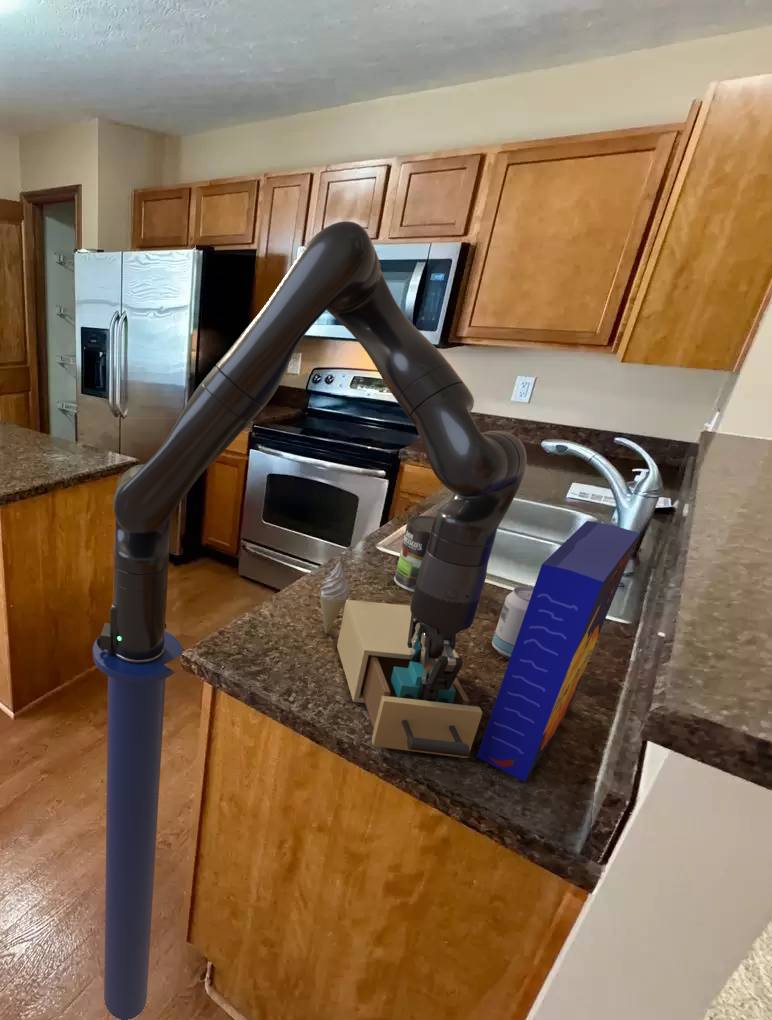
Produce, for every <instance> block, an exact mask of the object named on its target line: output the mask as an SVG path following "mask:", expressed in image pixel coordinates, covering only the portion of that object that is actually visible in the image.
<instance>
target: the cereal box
mask: <svg viewBox="0 0 772 1020" xmlns="http://www.w3.org/2000/svg"><path fill="white" fill-rule="evenodd" d="M640 535H641V533H640V532H637V531H633V530H631V529H628V528H624V527H620V526H617V525H614V524H609V523H604V522H596V521H591V520H586V521H585V522H583V524H582V525H580V527H579V528H578V529H576V530H575V532H573V533H572V534H571V535H570V537H568V538H567V539H566V540H565V541H564V542H563V543H562V544H561V545H560V546H559V547H558V548H557V549H556V550H555V551H554V552H553V553H552V554H551V555H550V556H549V557H547V559H545V560H544V561H543V562H542V563H541V566H540V569H539V571H538V574H537V577H536V581H535V584H534V587H533V588H534V589H533V592H532V595H531V598H530V601H529V604H528V607H527V610H526V613H525V616H524V619H523V622H522V625H521V628H520V630H519V633H518V636H517V639H516V642H515V645H514V648H513V651H512V654H511V657H510V659H508V662H507V666H506V669H505V672H504V675H503V678H502V681H501V683H500V686H499V690H498V693H497V696H496V698H495V701H494V704H493V707H492V710H491V713H490V716H489V719H488V721H487V725H486V728H485V731H484V735H483V737H482V740H481V743H480V746H479V749H478V752H477V755H476V758H478V759H479V760H482V761H484V762H485V763H487V764H489V765H491V766H492V767H495V768H497V769H499V770H501V771H503V772H505V773H507V774H508V775H510V776H512V777H514V778H516V779H518V780H520V781H522V782H524V783H526V781H527V780H528V778H529V776H530V775H531V774H532V771H533V770H534V768H535V767H536V765H537V763H538V762H539V760H540V759H541V757H542V755H543V753H544V752H545V750H546V749H547V747H548V745H549V743H550V741H551V740H552V739H553V737H554V735H555V733H556V732H557V730H558V728H559V727H560V725H561V724H562V722H563V720H564V718H565V717H566V715H567V714H568V712H569V710H570V708H571V705H572V703H573V700H574V698H575V695H576V692H577V690H578V688H579V685H580V682H581V680H582V678H583V675H584V673H585V670H586V668H587V665H588V663H589V661H590V658H591V655H592V653H593V651H594V648H595V645H596V643H597V640H598V638H599V635H600V633H601V630H602V628H603V625H604V623H605V621H606V619H607V616H608V614H609V611H610V608H611V606H612V604H613V601H614V598H615V596H616V593H617V591H618V589H619V586H620V584H621V581H622V579H623V576H624V574H625V571H626V568H627V566H628V564H629V561H630V559H631V557H632V553H633V551H634V549H635V546H636V544H637V541H638V538H639V536H640Z"/></svg>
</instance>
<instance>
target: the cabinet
mask: <svg viewBox="0 0 772 1020" xmlns="http://www.w3.org/2000/svg"><path fill="white" fill-rule="evenodd" d="M410 606H411V605H408V604H407V605H406V604H396V603H388V602H387V603H385V602H374V601H366V600H365V601H364V600H354V599H352V600H351V599H347V600H346V601H345V603H344V609H343V614H342V618H341V619H342V620H341V624H340V630H339V635H338V639H337V645H336V648H337V652H338V654H339V658H340V661H341V665H342V668H343V671H344V675H345V679H346V682H347V685H348V689H349V692H350V696H351V700H352V703H359V704H365V700H364V697H363V694H362V691H361V688H362V683H363V679H364V674H365V670H366V665H367V661H368V656H369V655H373V656H383V657H392V658H402V659H411V658H410V651H411V649H412V648H408V645H407V642H408V636H409V628H410V621H411V610H410ZM453 654H454V657H457V658H460V656H459V654H458V653H457V651H456V649H454V650H453ZM430 660H431V661H436V659H433V658H431V659H430Z"/></svg>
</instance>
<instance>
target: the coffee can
mask: <svg viewBox="0 0 772 1020" xmlns="http://www.w3.org/2000/svg"><path fill="white" fill-rule="evenodd" d="M435 517H436V516H433V515H431V516H430V515H413V516H410V517H408V518H407V520H406V527H405V531H404V536H403V541H402V544H401V548H400V552H399V556H398V557H399V558H398V561H397V565H396V570H395V573H394V574H395V575H394V576H393V581H394V583H395V584H396V585H397V586H399V587H400V588H401V589H404V590H405V591H408V592H410V593H414V589H415V585H416V581H417V577H418V573H419V569H420V565H421V562H422V560H423V557H424V555H425V553H426V550H427V546H428V541H429V537H430V533H431V530H432V526H433V522H434V519H435Z"/></svg>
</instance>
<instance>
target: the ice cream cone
mask: <svg viewBox="0 0 772 1020" xmlns="http://www.w3.org/2000/svg"><path fill="white" fill-rule="evenodd" d="M329 573H330V576H328V577H325V578H324V580H326V581H322V582H321V584H322V585H323V586H322V587H321V588H320V590H319V591H318V595H319V598H320V604H321V605H320V606H321V613H322V621H323V628H324V633H325V634H329V632H330V630H331V628H332V627H333V625H334V623H335V622H336V619H337V618H338V616H339V614H340V612H341V611H342V609H343V606H345V603H346V600H349V595H350V590H351V587H350V584H349V582H348V581H347V580H346V573H345V571H344V568H343V565H342V560H339V561H338V563H337V564H336V566H335V567H334V568H333V569H332V571H330V572H329Z"/></svg>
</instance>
